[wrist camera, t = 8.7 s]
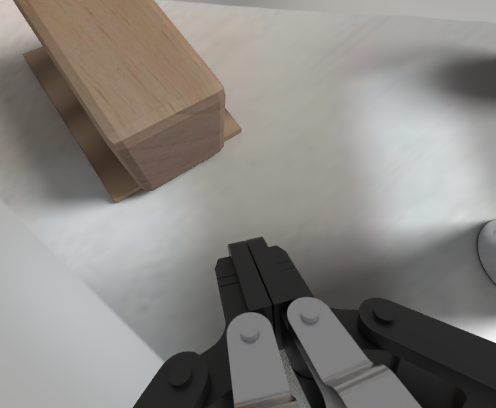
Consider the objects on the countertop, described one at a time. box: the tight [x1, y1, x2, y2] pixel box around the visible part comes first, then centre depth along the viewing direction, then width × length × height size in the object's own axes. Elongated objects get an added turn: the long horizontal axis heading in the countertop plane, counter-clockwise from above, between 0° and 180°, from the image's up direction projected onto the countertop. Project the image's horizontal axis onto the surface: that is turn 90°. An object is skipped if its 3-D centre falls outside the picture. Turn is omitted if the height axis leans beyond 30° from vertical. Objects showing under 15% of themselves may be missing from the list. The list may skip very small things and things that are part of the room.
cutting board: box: [23, 47, 241, 203], centre depth 31 cm, size 22×16×1 cm
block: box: [13, 0, 225, 191], centre depth 25 cm, size 10×10×20 cm
